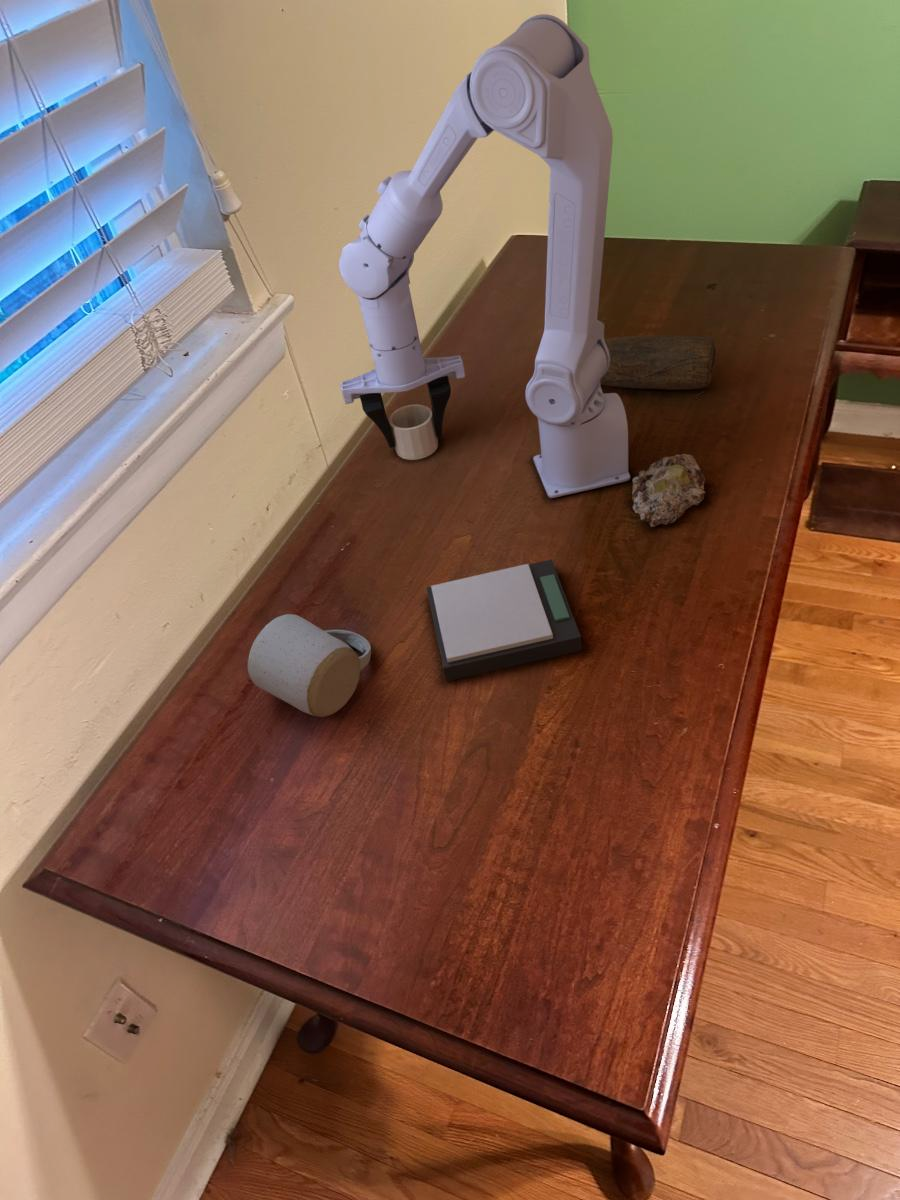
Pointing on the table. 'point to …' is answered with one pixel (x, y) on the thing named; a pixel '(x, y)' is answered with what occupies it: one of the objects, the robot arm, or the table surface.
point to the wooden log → (660, 362)
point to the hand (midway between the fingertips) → (415, 437)
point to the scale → (502, 620)
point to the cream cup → (413, 431)
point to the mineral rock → (668, 489)
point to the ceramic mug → (307, 664)
